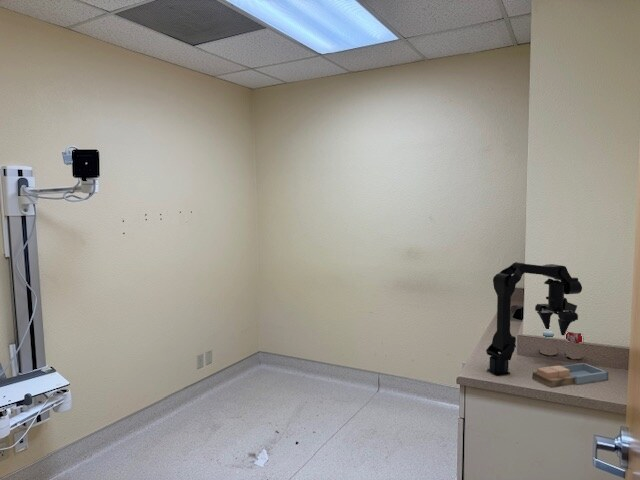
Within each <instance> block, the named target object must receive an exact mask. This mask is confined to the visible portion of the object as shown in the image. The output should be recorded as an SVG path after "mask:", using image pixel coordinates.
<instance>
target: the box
mask: <svg viewBox="0 0 640 480" xmlns="http://www.w3.org/2000/svg"><path fill="white" fill-rule="evenodd" d="M561 366H562V367H564V368H567V369H569V370H570V376H573V377H575V384H574V385H576V386H578V385H583V384H584V385H587V384H591V383H597V382H605V381H608V380H609V371H606V370H603V369H601V368H598V367H596V366H593V365H591V364H589V363H585V362H580V363H579V362H578V363H573V364H566V365H565V364H564V365H561Z"/></svg>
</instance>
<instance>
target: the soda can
mask: <svg viewBox="0 0 640 480" xmlns="http://www.w3.org/2000/svg"><path fill="white" fill-rule="evenodd" d="M566 332H568V331H567V330H566ZM565 334H566V333H565ZM566 339H567V340H568V341H570V342H571V343H572V344H573V343H579V342H582V336H581V333H574V332H568V333H567V334H566Z"/></svg>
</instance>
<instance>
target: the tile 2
mask: <svg viewBox="0 0 640 480" xmlns="http://www.w3.org/2000/svg"><path fill="white" fill-rule="evenodd" d="M562 366H563V365H554V366H548V367H549V368H551V369H554V370H556V371H558V377H563V376H570V370H569V369H567V368H564V367H562Z"/></svg>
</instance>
